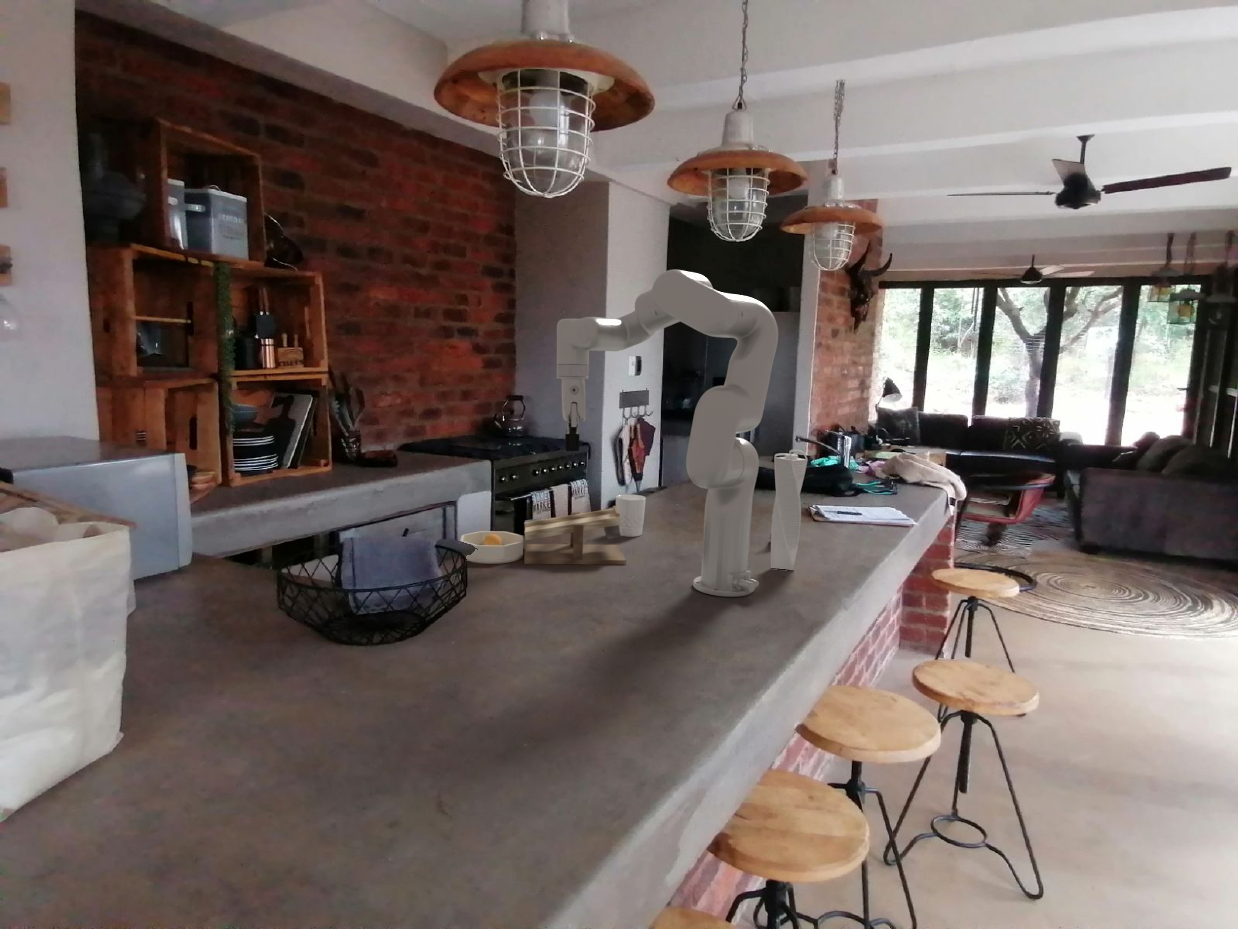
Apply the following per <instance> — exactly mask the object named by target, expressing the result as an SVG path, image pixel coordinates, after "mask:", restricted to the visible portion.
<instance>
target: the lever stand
mask: <svg viewBox="0 0 1238 929" xmlns="http://www.w3.org/2000/svg"><path fill="white" fill-rule="evenodd" d="M576 514H581V513H580V512H578V511H577V512H575V511H574V512H573V511H572V512H570V515H576ZM569 534H570V535H569V536H570V537H569V543H568V544H565V543H564V544H563V543H557V544H556V543H524V544H523V557H524V560H523V561H524V564H525V565H527V564H528V565H538V564H539V565H623V566H625V565H627V559H626V557H625V555H624V552H623V551H622V548H621V545H620V544H584V531H583V524H580V523H574V532H573V533H569Z"/></svg>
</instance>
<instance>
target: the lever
mask: <svg viewBox="0 0 1238 929" xmlns="http://www.w3.org/2000/svg"><path fill="white" fill-rule="evenodd" d="M612 507H613V508H609V509H608V508H607V509H602V510H596V511H588V512H583V513H580V514H576V515H571V514H570V515H564V516H559V517H557V516H556V517H551V518H546V519H545V518H544V519H542V517H539V518H533V519H528V520H524V531H523V532H524V538H525V541H528V540H529V541H530V540H537V539H543V538H548V537H553V536H554V537H555V536H560V535H566V534H570V533H573V532H574V523H580V524H583V532H584V531H590V530H597V529H603V530H604V534H605V536H606V538H607V540H609V539H615V538H620V537H622V536H621V535H620V529H619V525H621V519H620V513H619V511H618V510H617V508H616V505H613V506H612Z"/></svg>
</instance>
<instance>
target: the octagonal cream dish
mask: <svg viewBox="0 0 1238 929" xmlns="http://www.w3.org/2000/svg"><path fill="white" fill-rule="evenodd" d="M490 534H496V535H498V536H499V537H500V539H501V546H497V545H484V539H485V538H486V536H488V535H490ZM460 541H461V542H464V543H467V544H471V545H473V546H474V547H475V548H477V549H478V550H477V549H475V551H474V552H473V553H472V554H471V555H467V556H466V559H467V560H466V561H467V562H469V563H471V562H472V563H476V564H487V565H488V564H490V565H491V564H494V565H495V564H497V565H498V564H505V563H512V562H516V561H518V560H521V559H522V558H523V557H524V535H521V534H518V533H513V532H510V531H502V530H501V531H493V530H491V531H490V530H480V531H476V532H475V531H474V532H469V533H466V534H465V533H464V534H462V535H461V536H460V539H459V542H460Z"/></svg>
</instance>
